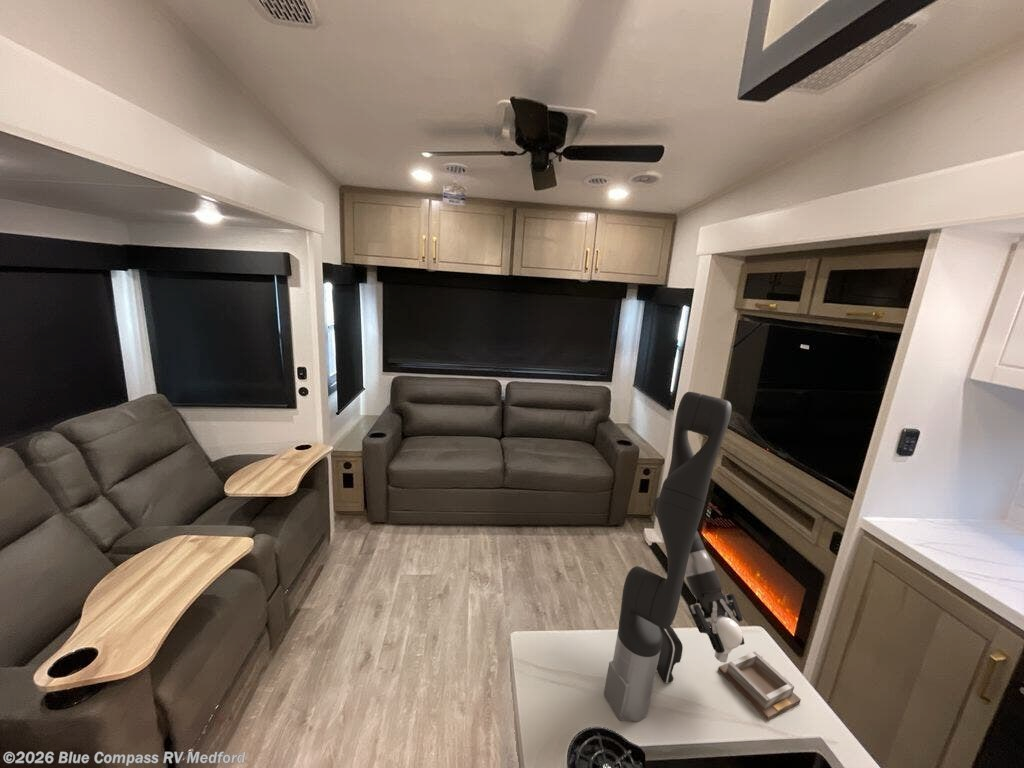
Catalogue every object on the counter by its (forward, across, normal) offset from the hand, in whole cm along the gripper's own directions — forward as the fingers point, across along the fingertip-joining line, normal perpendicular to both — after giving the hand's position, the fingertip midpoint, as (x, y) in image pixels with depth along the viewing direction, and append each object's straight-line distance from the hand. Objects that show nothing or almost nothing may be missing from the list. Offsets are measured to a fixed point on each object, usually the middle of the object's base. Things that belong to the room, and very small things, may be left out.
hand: (730, 648), depth 92 cm
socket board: (+10, +10, +7) cm, 16 cm away
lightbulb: (+2, 0, +5) cm, 5 cm away
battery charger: (+3, -9, +15) cm, 18 cm away
